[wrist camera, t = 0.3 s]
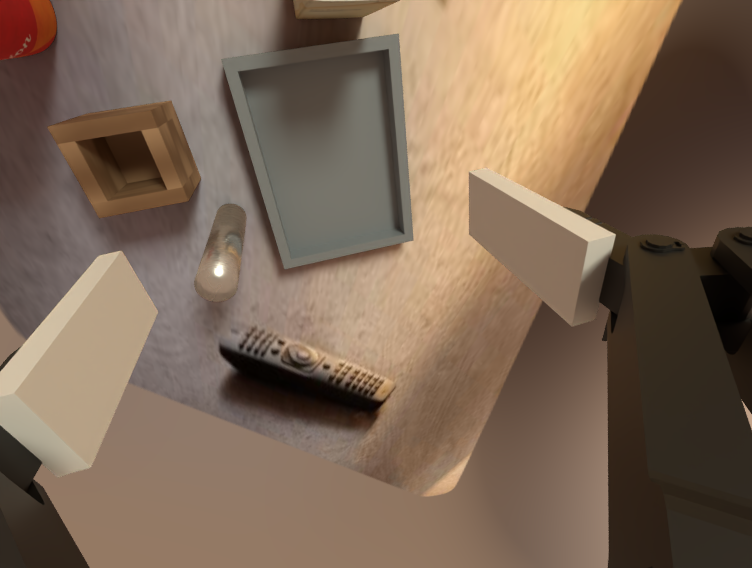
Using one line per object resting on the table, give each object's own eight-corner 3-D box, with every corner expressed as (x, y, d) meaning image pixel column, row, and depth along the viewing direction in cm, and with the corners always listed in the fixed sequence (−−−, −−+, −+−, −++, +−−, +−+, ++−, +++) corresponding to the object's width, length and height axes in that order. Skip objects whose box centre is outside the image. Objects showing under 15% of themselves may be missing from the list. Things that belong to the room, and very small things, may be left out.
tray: (224, 58, 32) (221, 59, 30) (389, 34, 34) (398, 33, 32) (283, 257, 43) (284, 269, 41) (406, 230, 45) (413, 240, 43)
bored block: (87, 113, 32) (46, 126, 26) (171, 100, 33) (150, 110, 27) (126, 191, 36) (99, 218, 30) (201, 177, 37) (188, 201, 31)
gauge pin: (212, 206, 38) (187, 272, 27) (241, 201, 39) (229, 263, 27) (222, 232, 40) (203, 305, 28) (250, 227, 40) (242, 296, 29)
